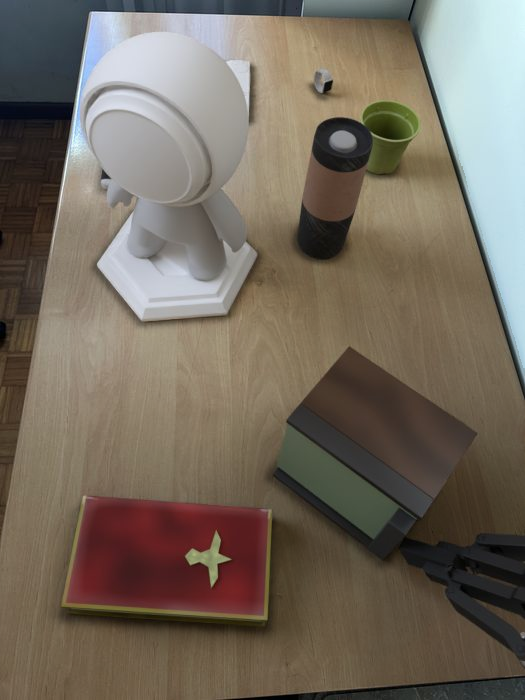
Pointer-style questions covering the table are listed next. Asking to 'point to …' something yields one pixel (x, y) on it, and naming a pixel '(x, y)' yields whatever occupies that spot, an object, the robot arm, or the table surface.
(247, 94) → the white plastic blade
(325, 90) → the smartwatch
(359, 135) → the travel mug
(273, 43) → the table surface
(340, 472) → the closet door
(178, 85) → the white cartoon figure
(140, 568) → the hardcover book
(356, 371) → the closet
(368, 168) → the plant pot
